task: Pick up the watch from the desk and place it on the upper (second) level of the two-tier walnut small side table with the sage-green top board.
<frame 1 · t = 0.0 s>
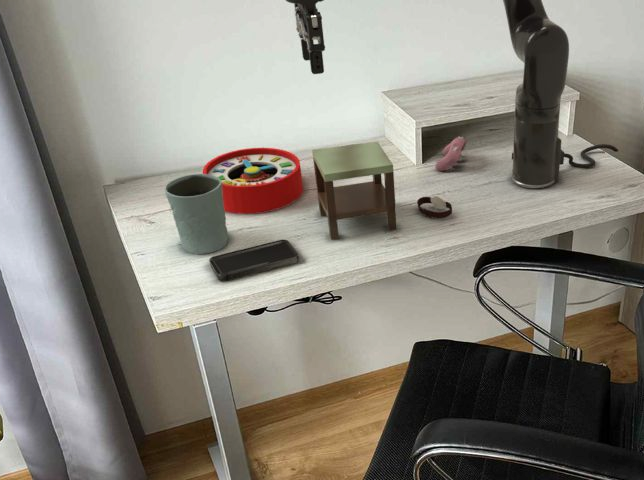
hand: (313, 66, 148), 29 cm above the table, tool pointing down, fingers open, 8 cm apart
grey-green cup: (205, 243, 156), on the table
phone: (255, 263, 149), on the table
toy clock: (256, 193, 173), on the table
watch: (434, 214, 165), on the table
small side table: (357, 221, 162), on the table
video game controller: (452, 164, 184), on the table
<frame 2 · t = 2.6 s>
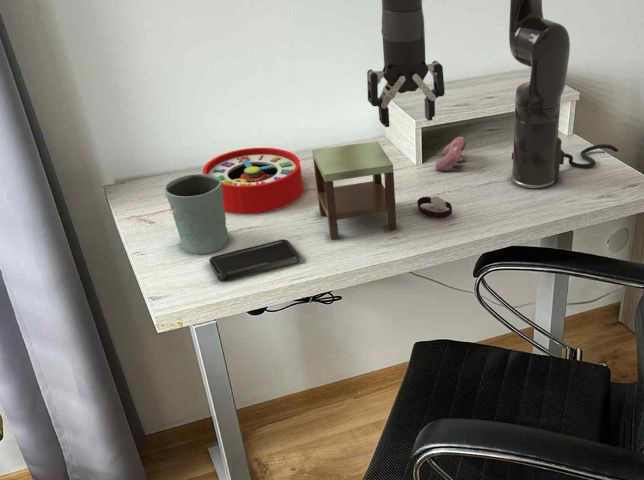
hand: (407, 122, 154), 19 cm above the table, tool pointing down, fingers open, 8 cm apart
nothing on the table moved.
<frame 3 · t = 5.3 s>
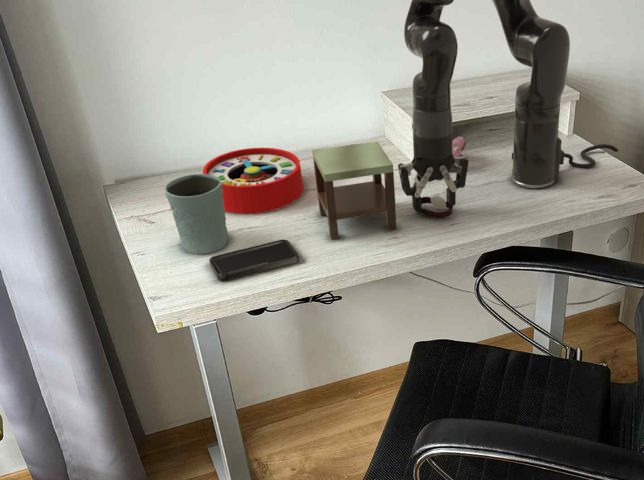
hand: (434, 209, 164), 1 cm above the table, tool pointing down, fingers closed on watch, 6 cm apart
watch: (434, 214, 165), on the table, touching gripper
everything else where it was.
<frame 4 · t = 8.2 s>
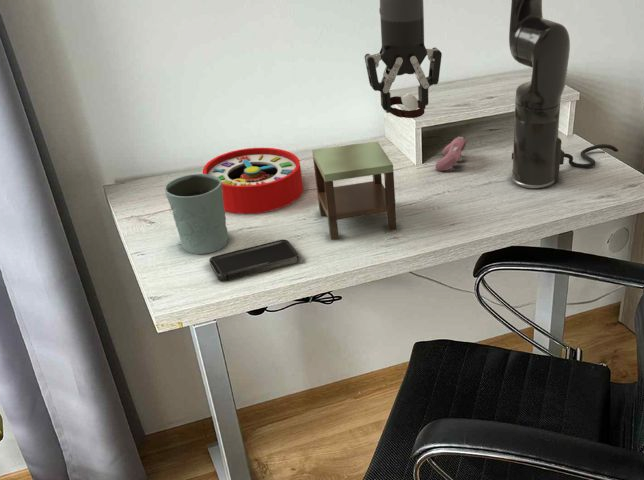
hand: (405, 109, 151), 22 cm above the table, tool pointing down, fingers closed on watch, 6 cm apart
watch: (405, 115, 151), point 21 cm above the table, touching gripper
everything else where it was.
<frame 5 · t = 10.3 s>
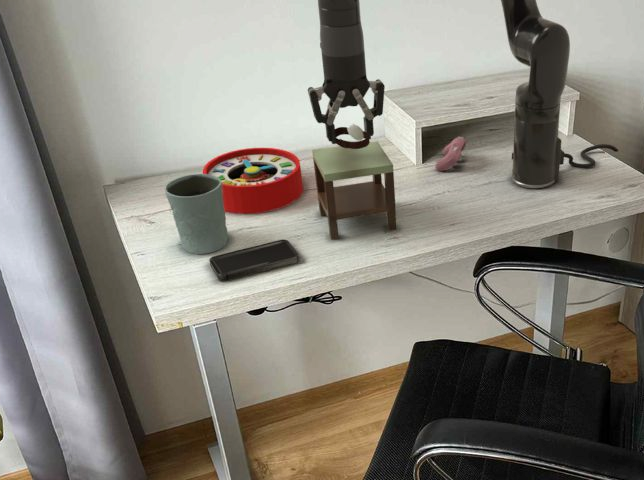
hand: (350, 140, 152), 17 cm above the table, tool pointing down, fingers closed on watch, 6 cm apart
watch: (351, 145, 153), point 16 cm above the table, touching gripper
everything else where it was.
when the fingers open (14 cm above the table, at t = 11.6 s): watch stays where it is, resting on small side table.
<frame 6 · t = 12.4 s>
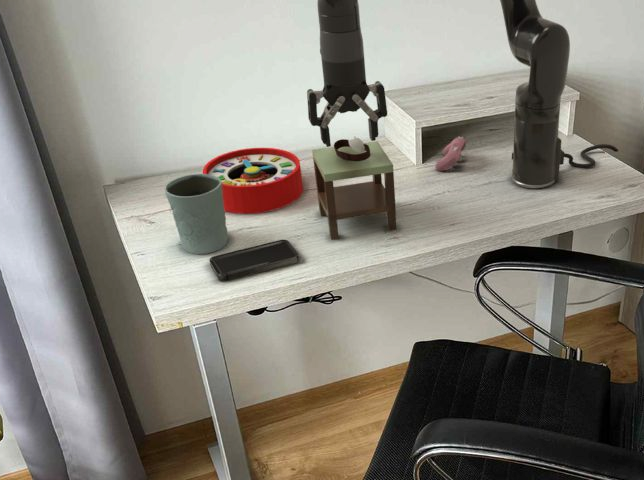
hand: (350, 142, 152), 16 cm above the table, tool pointing down, fingers open, 8 cm apart
watch: (352, 157, 154), point 13 cm above the table, touching small side table
everything else where it was.
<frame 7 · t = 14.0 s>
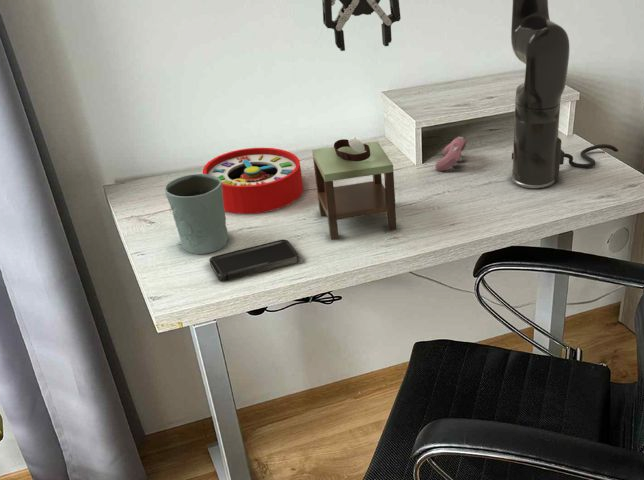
hand: (364, 47, 155), 30 cm above the table, tool pointing down, fingers open, 8 cm apart
nothing on the table moved.
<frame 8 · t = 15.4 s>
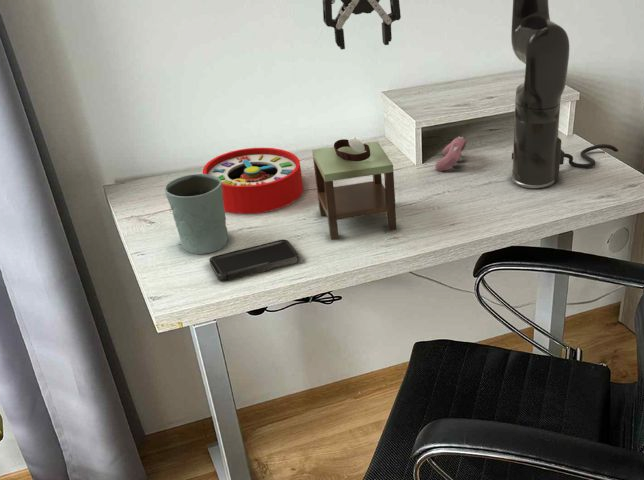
hand: (364, 46, 155), 30 cm above the table, tool pointing down, fingers open, 8 cm apart
nothing on the table moved.
at the end: watch inside the target area on the small side table (0.1 cm from its centre), point 13.3 cm above the small side table's base; watch tilted 0° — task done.
